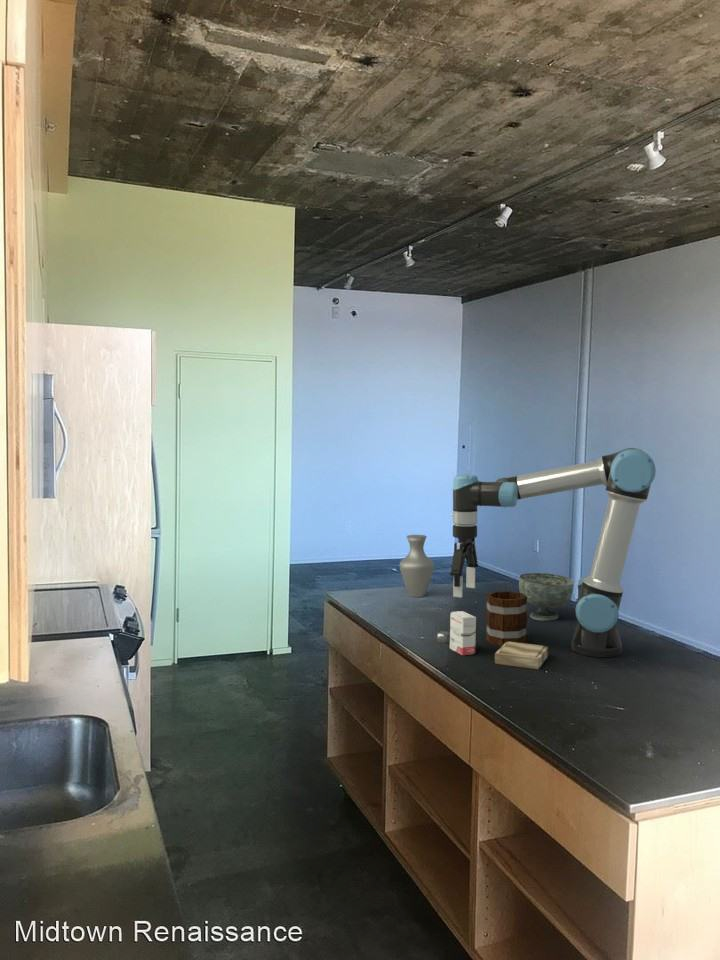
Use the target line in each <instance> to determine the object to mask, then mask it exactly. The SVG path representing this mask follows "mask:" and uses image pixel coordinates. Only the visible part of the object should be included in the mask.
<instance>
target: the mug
mask: <svg viewBox="0 0 720 960" xmlns="http://www.w3.org/2000/svg"><path fill="white" fill-rule="evenodd" d="M485 598H486V612H485V620H486V634H485V640H486V641H487V643H489V644H492V645H496V646H500V647H502V646H503V645H504V644H505V643H506V642H517V643H525V644H527V643H528V639H527V623H528V615H527V614H528V613H527V603H528V602H527V596H526V595H524V594H523V593H520V592H518V591H512V590H507V591H506V590H504V591H503V590H497V591H492V592H489V593H486V594H485Z"/></svg>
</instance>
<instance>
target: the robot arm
mask: <svg viewBox="0 0 720 960" xmlns="http://www.w3.org/2000/svg"><path fill="white" fill-rule="evenodd" d="M656 468H657V467H656V464H655V462H654V460H653V458H652V457H651V456H650V455H649V454H648V453H647V452H645V451H644V450H642V449H639V448H635V447H630V448H629V447H628V448H625V449H622V450H620V451H617V452H613V453H610V454H606V455H602V456H600V457H599V458H597V460H593V461H587V462H582V463H577V464H573V465H567V466H563V467H556V468H551V469H545V470H540V471H537V472H536V471H535V472H529V473H526V474H520V475H514V476H509V477H502V478H501V477H500V478H497V480H495V481H480V480H479V478H478V475H475V474H457V475H455V476H454V477H453V483H452V484H453V485H452V513H451V517H452V523H453V526H452V537H453V538H456V539H458V540H457V542H454V547H453V548H454V549H453V556H452V557H453V558H452V562H451V563H452V564H451V570H450V573H449V574H450V576H453V577H452V580H453V582H452V586H453V587H452V589H453V591H452V594H453V595H452V596H453V598H463V596H464V595H463V590H464V589H463V587H464V586H463V583H464V582H463V581H464V580H463V579H464V577H463V569H464V565H465V562H466V565H467V567H465V568H466V571H465V572H466V577H465V578H466V583H465V586H466V588H469V589H476V568H478V567H479V564H478V563H479V561H478V557H477V550H476V539H475V538H477V537H478V526H477V524H478V507H500V508H502V507H503V508H513V507H516V505H517V504H518V501H519V500H523V499H528V498H529V499H530V498H534V497H539V496H547V495H550V494H551V495H552V494H558V493H562V492H567V491H573V490H578V489H584V488H585V489H586V488H590V487H597V486H602V485H603V486H605V493H606V494H607V496H608V501H607V505H606V510H605V513H604V517H603V520H602V524H601V525H602V526H601V530H600V532H599V535H598V536H599V537H598V540H597V544H596V549H595V553H594V557H593V562H592V566H591V568H590V569H591V570H590V572H589V576H582V577H580V578H579V579H578V580H577V581H578V583H577V601H576V606H575V609H574V610H575V616H576V619H577V625H576V628H575V631H574V634H573V636H572V639H571V650H572V651H573V652H575V653H577V654H579V655H583V656H588V657H595V658H611V657H612V658H613V657H617V656H620V655H621V654H622V653H623V643H622V641H621V637H620V634H619V631H618V628H617V627H618V626H617V622H618V619H619V616H620V615H619V613H620V612H619V610H620V605H621V602H622V597H623V594H624V589H623V587H622V586H621V583H620V582H621V579H622V576H623V572H624V568H625V564H626V560H627V556H628V553H629V549H630V544H631V541H632V537H633V532H634V529H635V526H636V521H637V518H638V514H639V513H638V512H639V510H640V505H641V504H643V503H644V502H647V500H648V497H649V493H650V490H651V484H652V483H653V481H654V479H655V477H656V472H657V471H656V470H657V469H656Z"/></svg>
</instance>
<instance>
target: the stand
mask: <svg viewBox="0 0 720 960" xmlns="http://www.w3.org/2000/svg"><path fill="white" fill-rule="evenodd" d="M548 657H549V647H548V646H545V645H541V644H533V643H517V642H506V643H505V644H504V645H503V646H500V647H499V649H497V650H496V652H495V653H494V664H497V665H503V666H511V667H512V666H513V667H519V668H527V669H534V670H539V669H540V668H541V667H542V665H544V662H545V661H546V660H547V659H548Z"/></svg>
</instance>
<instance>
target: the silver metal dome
mask: <svg viewBox="0 0 720 960" xmlns="http://www.w3.org/2000/svg"><path fill="white" fill-rule="evenodd" d="M436 642H437V643H438V644H444V645H445V644H450V631H443V630H442V631H441V630H440V631H437V632H436Z"/></svg>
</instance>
